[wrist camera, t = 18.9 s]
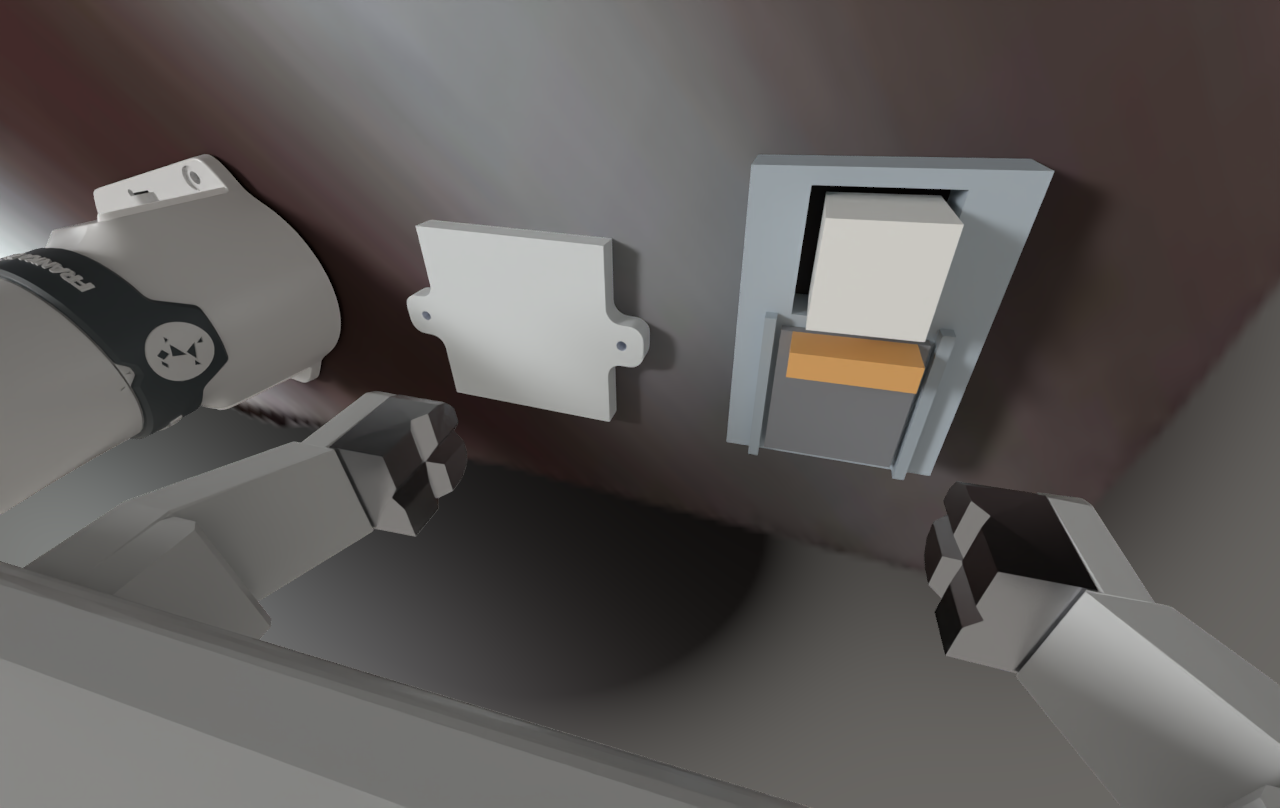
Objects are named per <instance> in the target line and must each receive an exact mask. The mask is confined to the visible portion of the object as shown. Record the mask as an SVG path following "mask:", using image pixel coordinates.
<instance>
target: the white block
mask: <svg viewBox="0 0 1280 808" xmlns="http://www.w3.org/2000/svg"><path fill="white" fill-rule="evenodd" d="M963 226H964V224H963V223H962V222H961V220H960V219H959V218H958V216H957V215H956V214H955V213H954V211H953V210H952V209H951V208H950V206H949V205H948V204H947V202H946V201H945V200H944V199H943V197H942V196H941V195H912V194H883V193H855V192H826V196H825V202H824V207H823V213H822V219H821V225H820V230H819V236H818V242H817V248H816V253H815V259H814V265H813V271H812V276H811V282H810V288H809V297H808V309H807V320H806V330H812V331H821V332H831V333H840V334H850V335H860V336H869V337H879V338H888V339H898V340H907V341H917V342H925V340H926V337H927V334H928V331H929V328H930V325H931V322H932V319H933V316H934V313H935V310H936V307H937V304H938V301H939V298H940V295H941V292H942V289H943V286H944V283H945V280H946V277H947V274H948V271H949V268H950V265H951V262H952V259H953V256H954V253H955V250H956V247H957V244H958V241H959V238H960V235H961V232H962V229H963Z"/></svg>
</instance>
